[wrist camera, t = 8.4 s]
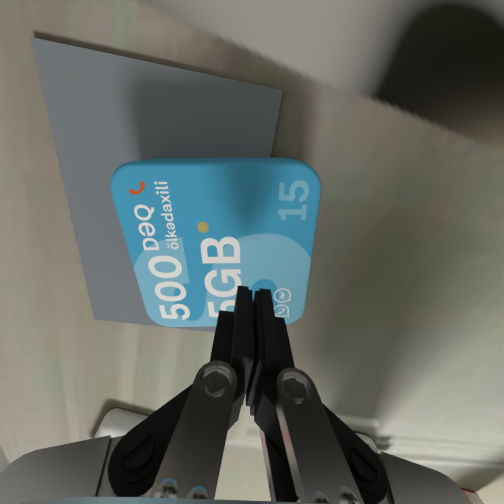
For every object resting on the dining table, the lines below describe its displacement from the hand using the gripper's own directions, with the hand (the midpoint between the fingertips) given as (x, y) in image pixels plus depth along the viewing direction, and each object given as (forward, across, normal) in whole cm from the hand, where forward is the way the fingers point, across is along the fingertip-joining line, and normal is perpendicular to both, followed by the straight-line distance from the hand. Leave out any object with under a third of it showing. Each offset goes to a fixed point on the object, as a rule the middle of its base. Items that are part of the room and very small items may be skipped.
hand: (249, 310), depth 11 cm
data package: (+6, -4, -2) cm, 7 cm away
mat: (+9, +7, 0) cm, 11 cm away
